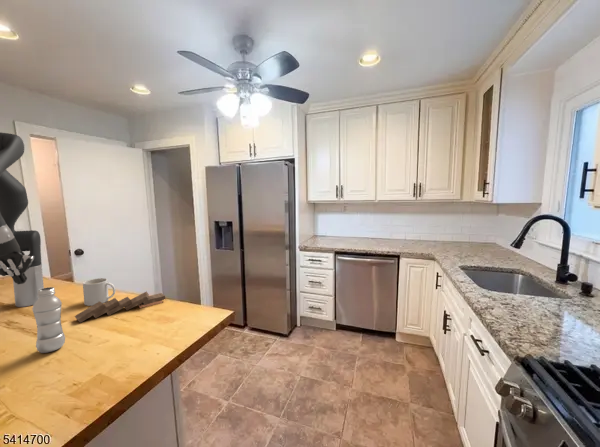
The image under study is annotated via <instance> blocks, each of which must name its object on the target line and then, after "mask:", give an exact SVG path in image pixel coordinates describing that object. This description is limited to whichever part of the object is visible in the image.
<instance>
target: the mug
mask: <svg viewBox="0 0 600 447" xmlns="http://www.w3.org/2000/svg"><path fill="white" fill-rule="evenodd" d="M109 286H110V287H111V288H112V294H111V295H110V296H109ZM82 291H83V293H82V294H83V305H84V306H85V307H86V306H87V307H88V306H90V307H91V306H93V305H94V304H96V303H98V302H99V301H100V302H102V303H103V304H105V303H106V302H108V301H110V299H111V298H113V297H114V296H115V295H116V287H115V284H113V283H112V282H108V278H105V277H99V278H92V279H89V280H86V281H85V280H84V281H83V282H82Z"/></svg>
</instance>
